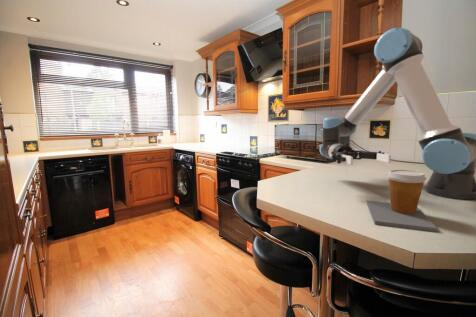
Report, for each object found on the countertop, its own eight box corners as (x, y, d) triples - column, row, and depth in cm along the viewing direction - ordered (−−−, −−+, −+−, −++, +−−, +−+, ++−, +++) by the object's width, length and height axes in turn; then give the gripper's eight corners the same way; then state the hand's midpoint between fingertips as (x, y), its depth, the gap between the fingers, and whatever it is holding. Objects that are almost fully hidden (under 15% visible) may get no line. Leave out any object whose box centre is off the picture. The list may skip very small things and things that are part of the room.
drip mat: (415, 207, 77) (415, 205, 77) (436, 231, 61) (437, 228, 60) (366, 203, 82) (366, 200, 82) (374, 224, 66) (374, 220, 66)
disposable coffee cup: (414, 206, 76) (417, 169, 74) (429, 218, 67) (433, 176, 65) (380, 204, 78) (383, 168, 76) (390, 215, 69) (394, 175, 67)
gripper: (368, 160, 104) (404, 168, 83) (312, 162, 103) (335, 172, 82) (368, 143, 103) (405, 147, 82) (312, 145, 102) (335, 150, 81)
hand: (370, 159), depth 82 cm, fingers open, 13 cm apart
